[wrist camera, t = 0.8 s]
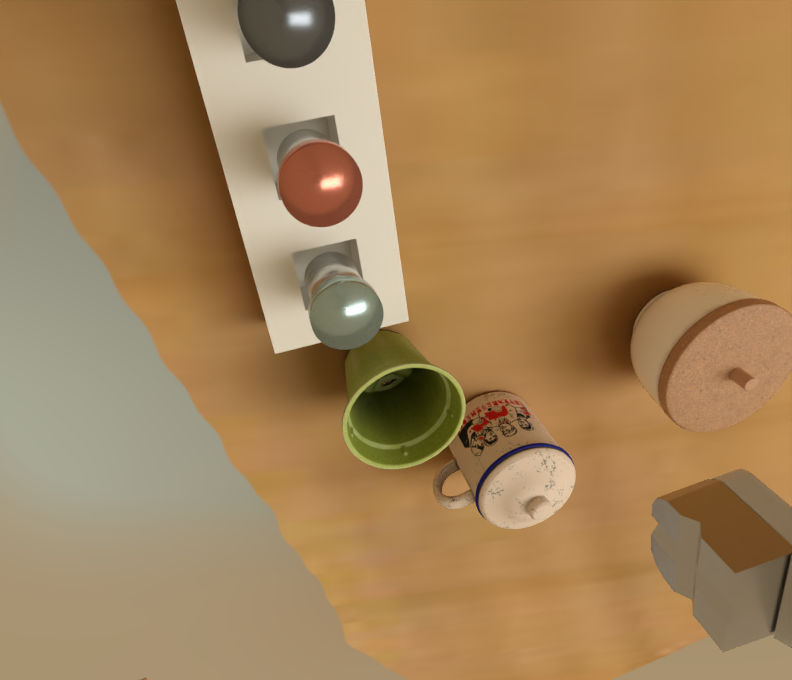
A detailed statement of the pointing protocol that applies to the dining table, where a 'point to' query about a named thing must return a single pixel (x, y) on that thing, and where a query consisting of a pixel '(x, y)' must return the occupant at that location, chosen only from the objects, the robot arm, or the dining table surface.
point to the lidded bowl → (711, 353)
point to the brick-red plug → (317, 179)
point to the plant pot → (398, 404)
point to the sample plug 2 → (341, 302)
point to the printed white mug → (507, 464)
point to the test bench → (258, 145)
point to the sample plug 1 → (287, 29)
